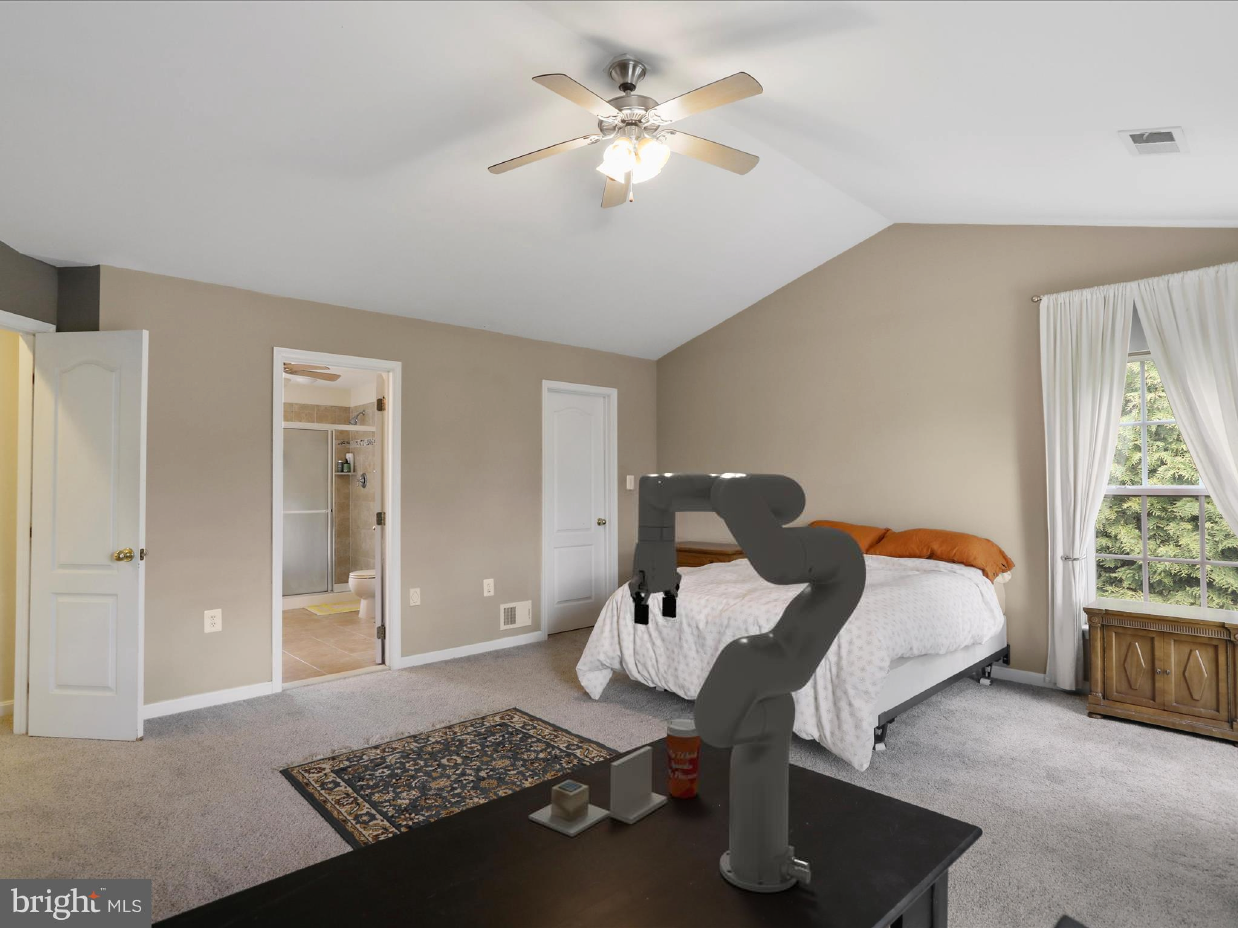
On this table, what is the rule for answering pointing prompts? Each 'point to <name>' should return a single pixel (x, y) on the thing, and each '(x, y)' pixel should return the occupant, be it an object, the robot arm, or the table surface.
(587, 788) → the maple cube
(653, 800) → the screen
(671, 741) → the paper cup
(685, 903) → the table surface
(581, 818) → the felt mat
